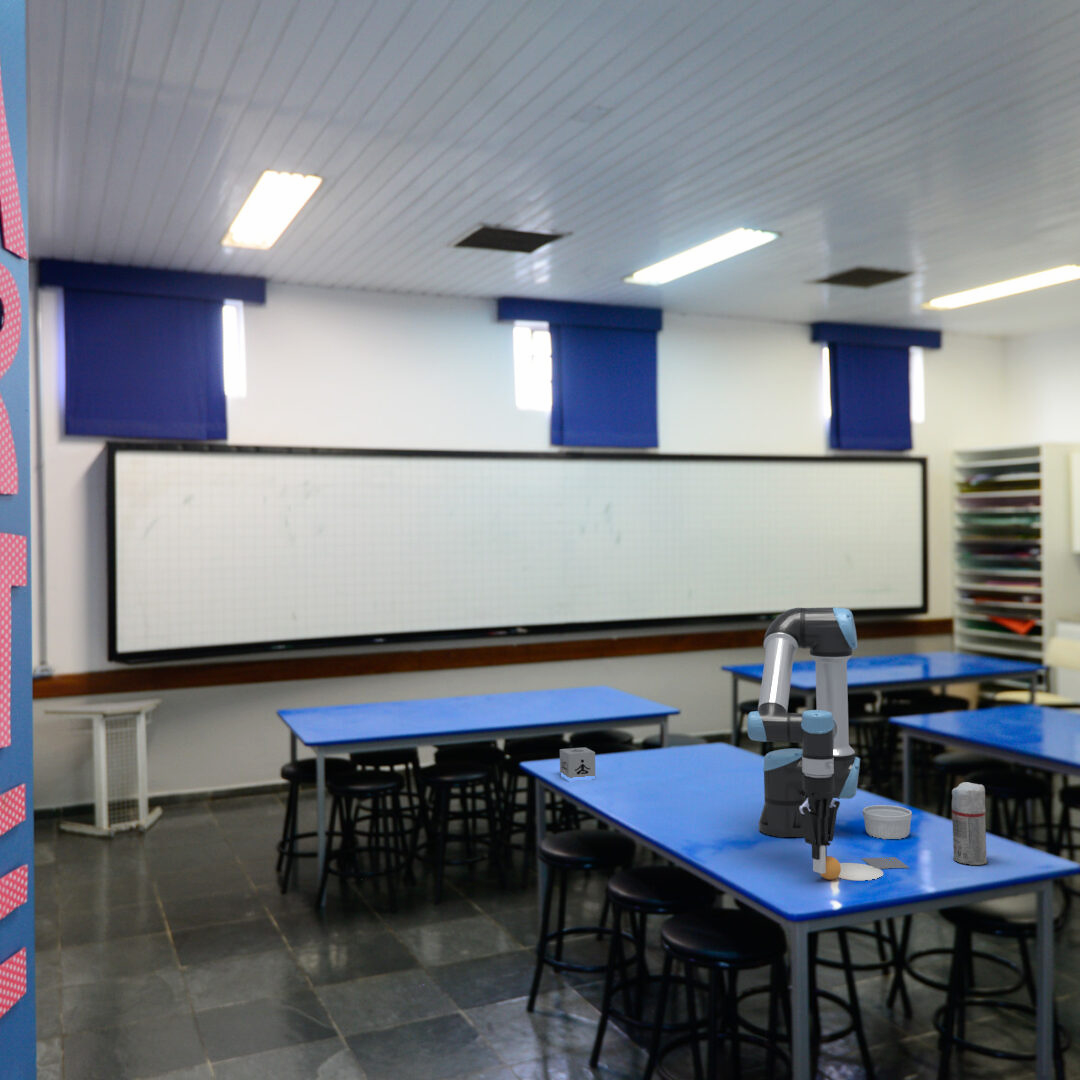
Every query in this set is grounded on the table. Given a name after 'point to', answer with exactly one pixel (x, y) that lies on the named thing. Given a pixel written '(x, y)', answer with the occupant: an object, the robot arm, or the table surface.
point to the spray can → (969, 824)
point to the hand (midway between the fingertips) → (819, 871)
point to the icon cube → (577, 762)
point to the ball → (831, 868)
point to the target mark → (859, 872)
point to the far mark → (885, 863)
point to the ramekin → (887, 821)
